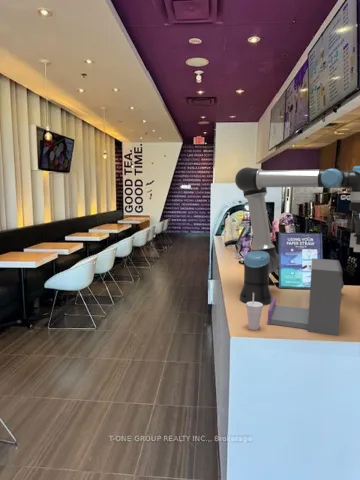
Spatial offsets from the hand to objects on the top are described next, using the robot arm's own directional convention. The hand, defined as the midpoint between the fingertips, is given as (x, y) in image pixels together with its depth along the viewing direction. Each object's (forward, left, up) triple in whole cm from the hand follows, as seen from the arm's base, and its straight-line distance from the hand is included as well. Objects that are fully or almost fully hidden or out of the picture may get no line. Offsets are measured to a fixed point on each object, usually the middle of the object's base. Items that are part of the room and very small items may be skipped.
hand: (354, 249), depth 156 cm
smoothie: (-37, -42, -27) cm, 62 cm away
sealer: (-13, -26, -27) cm, 39 cm away
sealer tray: (-25, -26, -27) cm, 45 cm away
